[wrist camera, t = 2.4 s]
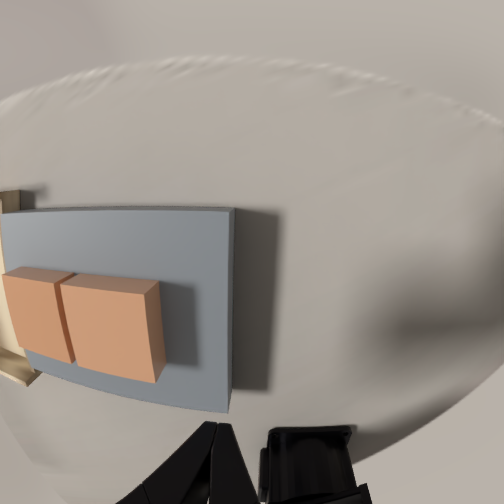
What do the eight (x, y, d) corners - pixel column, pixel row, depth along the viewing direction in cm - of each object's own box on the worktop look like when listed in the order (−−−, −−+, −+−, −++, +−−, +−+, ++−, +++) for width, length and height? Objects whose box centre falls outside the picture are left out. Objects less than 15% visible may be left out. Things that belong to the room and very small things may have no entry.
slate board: (235, 207, 16) (229, 211, 13) (232, 389, 18) (227, 413, 16) (23, 209, 16) (0, 214, 14) (47, 353, 19) (31, 367, 17)
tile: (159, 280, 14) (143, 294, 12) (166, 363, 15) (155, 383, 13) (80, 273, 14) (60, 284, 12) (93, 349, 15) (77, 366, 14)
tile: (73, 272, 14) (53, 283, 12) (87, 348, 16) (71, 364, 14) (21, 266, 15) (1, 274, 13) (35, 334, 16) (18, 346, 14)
